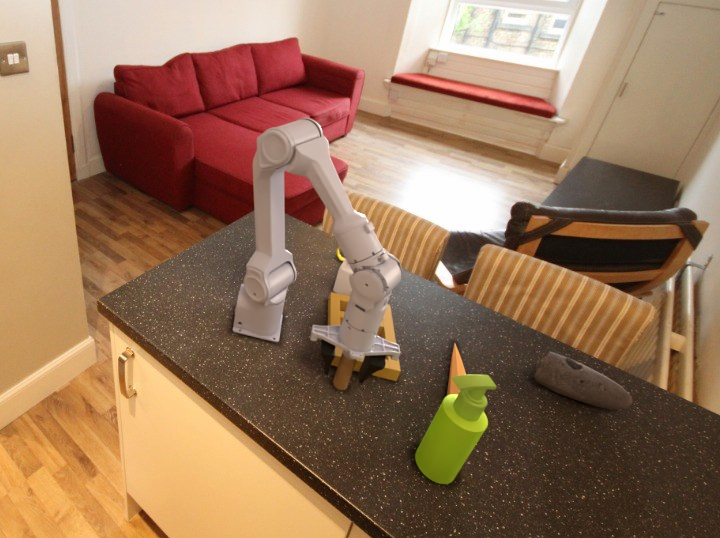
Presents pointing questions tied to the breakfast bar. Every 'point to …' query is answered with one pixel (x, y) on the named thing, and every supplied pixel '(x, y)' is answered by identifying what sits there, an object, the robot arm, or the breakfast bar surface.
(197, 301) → the breakfast bar surface
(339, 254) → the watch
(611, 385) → the perforated stone tool
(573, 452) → the breakfast bar surface
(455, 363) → the carrot
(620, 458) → the breakfast bar surface
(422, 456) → the soap dispenser
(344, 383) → the peg
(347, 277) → the medicine bottle
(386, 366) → the peg block
